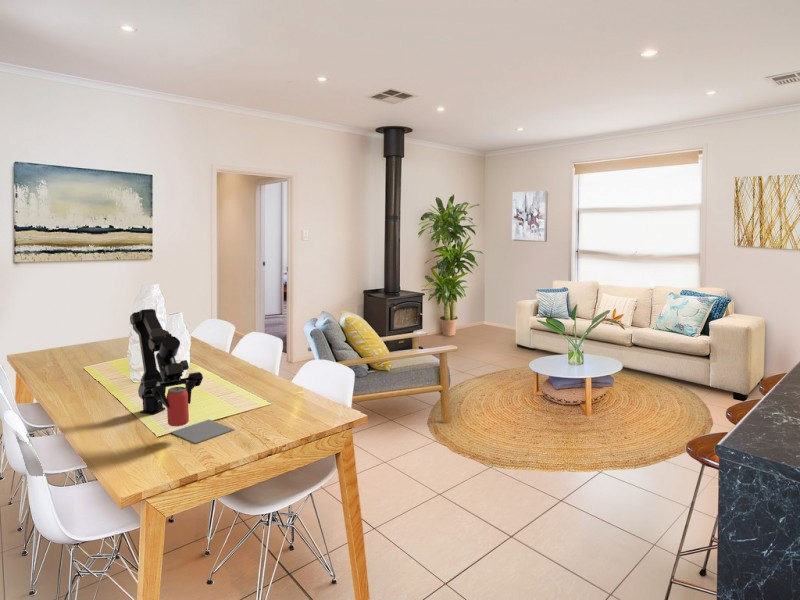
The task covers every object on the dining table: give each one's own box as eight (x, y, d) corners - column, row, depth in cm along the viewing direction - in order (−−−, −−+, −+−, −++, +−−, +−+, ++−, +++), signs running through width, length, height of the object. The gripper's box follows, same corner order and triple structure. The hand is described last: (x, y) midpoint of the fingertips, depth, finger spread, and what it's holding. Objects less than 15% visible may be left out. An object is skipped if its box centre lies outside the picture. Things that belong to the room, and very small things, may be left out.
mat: (170, 433, 179) (170, 432, 179) (208, 420, 191) (208, 419, 191) (195, 444, 170) (195, 443, 170) (234, 430, 182) (234, 429, 182)
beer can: (192, 420, 177) (191, 386, 175) (182, 427, 170) (181, 392, 168) (174, 419, 177) (172, 385, 175) (163, 426, 171) (162, 391, 169)
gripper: (141, 357, 167) (152, 399, 161) (200, 349, 179) (212, 388, 172) (137, 374, 175) (147, 415, 168) (193, 366, 186) (205, 404, 180)
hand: (179, 405), depth 172 cm, fingers closed on beer can, 6 cm apart
